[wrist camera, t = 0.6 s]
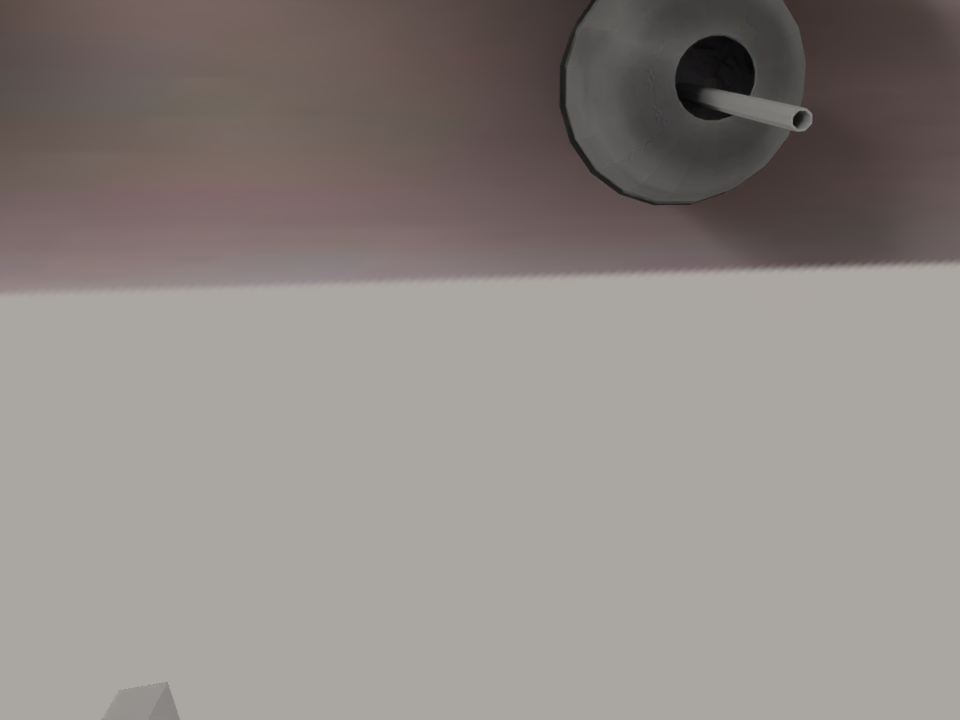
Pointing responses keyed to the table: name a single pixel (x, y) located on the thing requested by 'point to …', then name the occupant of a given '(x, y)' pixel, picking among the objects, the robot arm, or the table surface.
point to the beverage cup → (681, 93)
